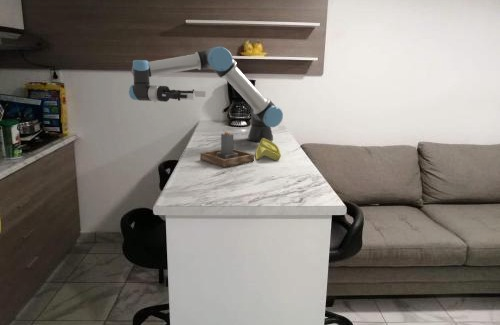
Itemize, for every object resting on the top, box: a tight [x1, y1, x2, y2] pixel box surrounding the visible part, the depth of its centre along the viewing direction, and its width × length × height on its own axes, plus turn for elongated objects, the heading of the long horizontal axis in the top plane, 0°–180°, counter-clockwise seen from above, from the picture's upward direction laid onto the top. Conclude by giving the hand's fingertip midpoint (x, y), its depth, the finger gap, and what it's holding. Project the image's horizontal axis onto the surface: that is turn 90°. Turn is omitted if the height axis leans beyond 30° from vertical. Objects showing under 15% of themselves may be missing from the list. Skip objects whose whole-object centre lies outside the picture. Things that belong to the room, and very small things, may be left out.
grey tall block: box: [220, 131, 234, 155], centre depth 182 cm, size 4×4×13 cm
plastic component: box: [254, 138, 282, 162], centre depth 195 cm, size 20×7×10 cm
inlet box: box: [199, 148, 255, 169], centre depth 184 cm, size 18×18×4 cm
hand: (200, 95), depth 184 cm, fingers open, 13 cm apart
